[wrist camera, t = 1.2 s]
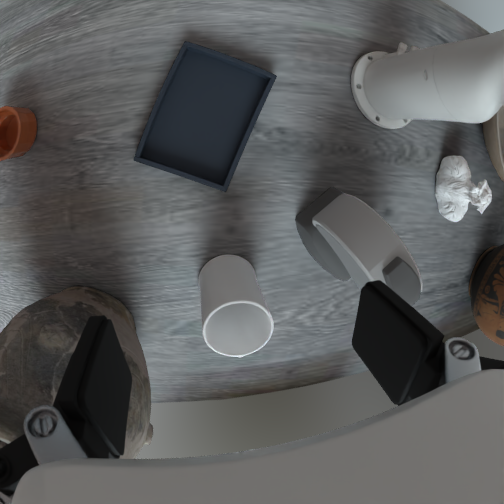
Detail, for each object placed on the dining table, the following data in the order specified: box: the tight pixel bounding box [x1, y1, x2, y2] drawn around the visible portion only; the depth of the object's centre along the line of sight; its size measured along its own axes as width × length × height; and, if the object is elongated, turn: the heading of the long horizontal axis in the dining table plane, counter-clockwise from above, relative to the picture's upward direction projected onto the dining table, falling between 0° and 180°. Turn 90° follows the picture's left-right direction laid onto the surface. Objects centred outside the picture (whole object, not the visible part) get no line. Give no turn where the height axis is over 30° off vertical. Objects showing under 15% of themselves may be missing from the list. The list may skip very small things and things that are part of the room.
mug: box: [198, 255, 274, 357], centre depth 38 cm, size 12×8×12 cm
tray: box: [134, 41, 277, 192], centre depth 32 cm, size 16×12×2 cm
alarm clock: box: [295, 188, 422, 306], centre depth 34 cm, size 16×10×18 cm, turn 39°
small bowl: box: [0, 106, 37, 161], centre depth 26 cm, size 7×7×5 cm
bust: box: [435, 155, 492, 222], centre depth 39 cm, size 12×8×11 cm
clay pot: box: [0, 286, 153, 459], centre depth 28 cm, size 22×23×30 cm
